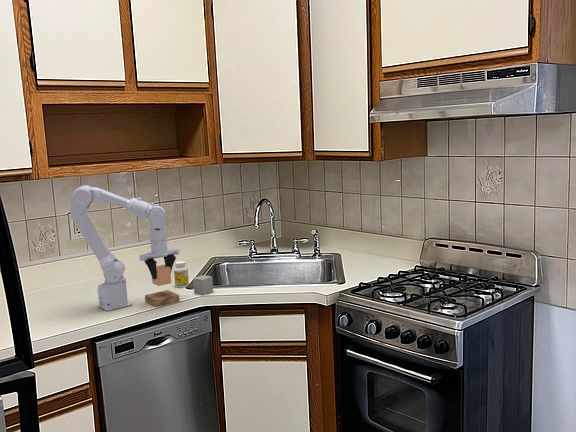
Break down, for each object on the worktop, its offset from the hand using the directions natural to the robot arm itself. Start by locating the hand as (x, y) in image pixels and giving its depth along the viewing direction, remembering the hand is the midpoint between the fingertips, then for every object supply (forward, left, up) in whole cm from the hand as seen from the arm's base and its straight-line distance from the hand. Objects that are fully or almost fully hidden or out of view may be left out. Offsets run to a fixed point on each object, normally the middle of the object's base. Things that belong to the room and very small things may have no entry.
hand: (161, 277), depth 208 cm
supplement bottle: (+15, +13, -9) cm, 22 cm away
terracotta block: (0, 0, -2) cm, 2 cm away
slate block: (+16, -2, -9) cm, 18 cm away
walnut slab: (-1, -1, -9) cm, 9 cm away
